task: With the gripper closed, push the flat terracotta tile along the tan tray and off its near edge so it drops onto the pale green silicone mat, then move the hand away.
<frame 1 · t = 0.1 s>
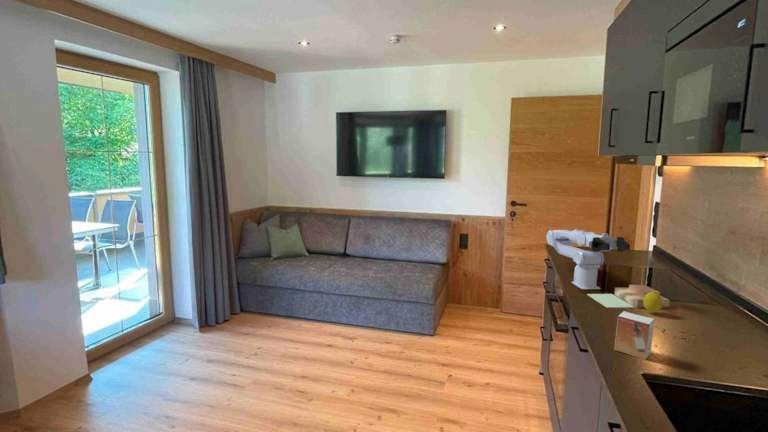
hand: (618, 247, 151), 22 cm above the worktop, tool horizontal, fingers open, 7 cm apart
small box: (632, 352, 116), on the worktop
tan tray: (640, 301, 157), on the worktop
tile: (643, 293, 156), point 3 cm above the worktop, touching tan tray
lemon: (651, 313, 145), on the worktop
mat: (609, 301, 156), on the worktop
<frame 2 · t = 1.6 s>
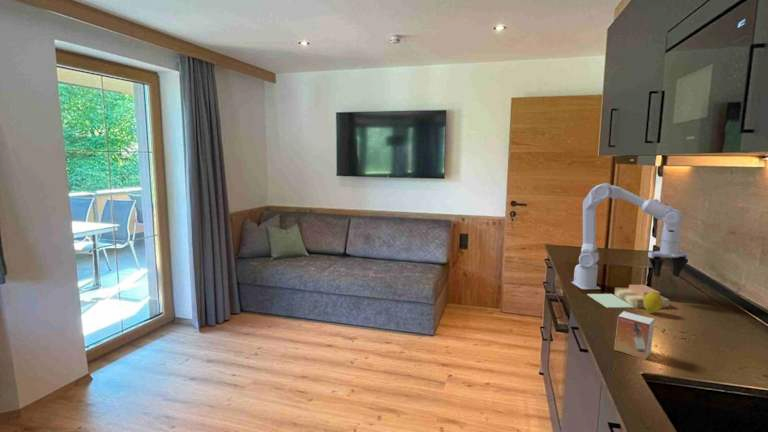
hand: (666, 276, 155), 10 cm above the worktop, tool pointing down, fingers open, 7 cm apart
nothing on the worktop moved.
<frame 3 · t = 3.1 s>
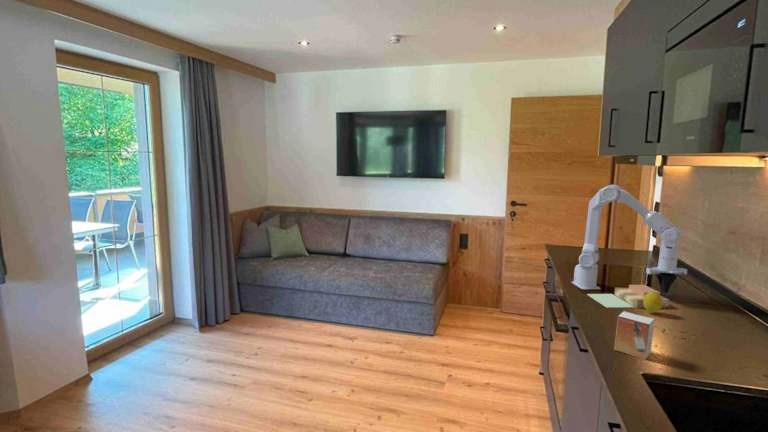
hand: (664, 291, 156), 4 cm above the worktop, tool pointing down, fingers closed
nothing on the worktop moved.
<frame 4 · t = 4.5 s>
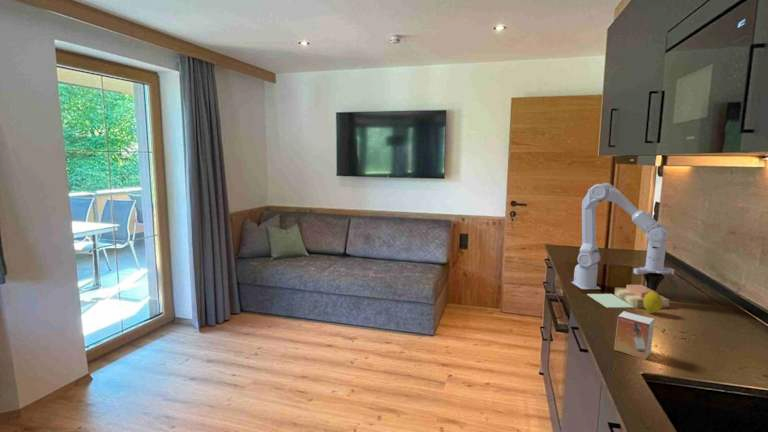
hand: (651, 292, 156), 4 cm above the worktop, tool pointing down, fingers closed
tile: (640, 293, 156), point 3 cm above the worktop, touching tan tray, gripper
everything else where it was.
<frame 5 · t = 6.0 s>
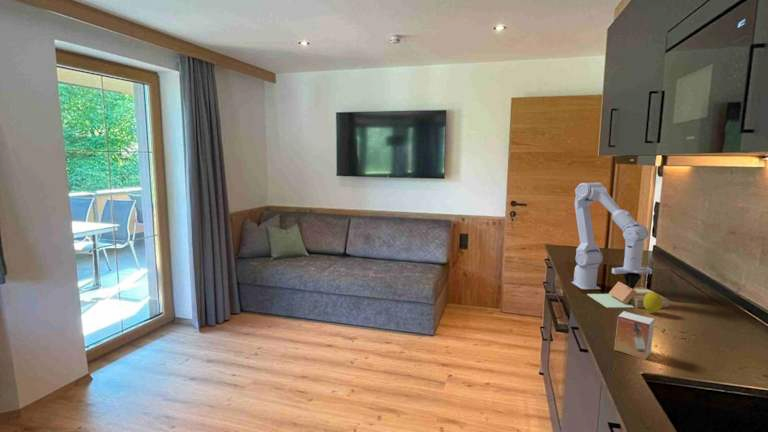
hand: (629, 291, 156), 4 cm above the worktop, tool pointing down, fingers closed, pressing on tile
tile: (624, 294, 156), point 3 cm above the worktop, tilted 54°, touching gripper, mat
everything else where it was.
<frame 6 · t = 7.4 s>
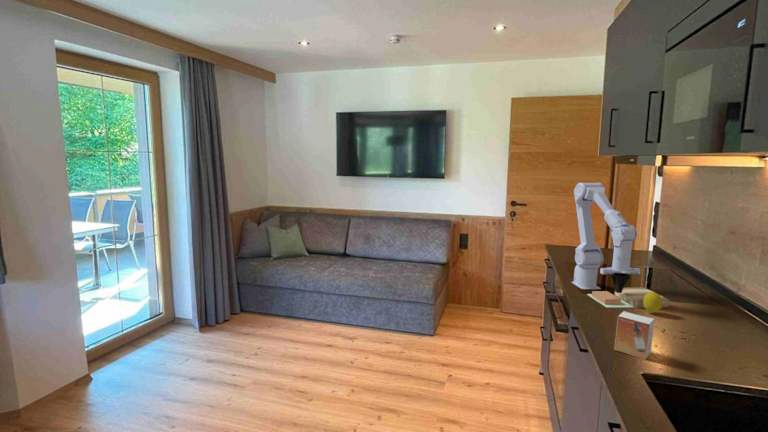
hand: (618, 292, 156), 4 cm above the worktop, tool pointing down, fingers closed
tile: (606, 295, 156), point 2 cm above the worktop, tilted 180°, touching mat
everything else where it was.
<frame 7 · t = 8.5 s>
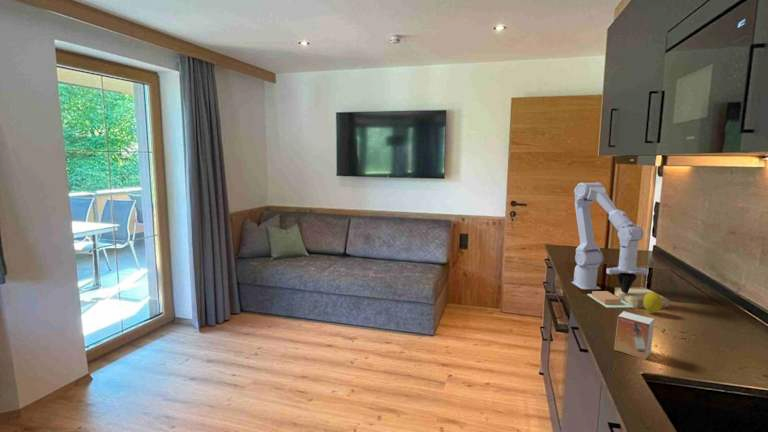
hand: (624, 292, 156), 4 cm above the worktop, tool pointing down, fingers closed
nothing on the worktop moved.
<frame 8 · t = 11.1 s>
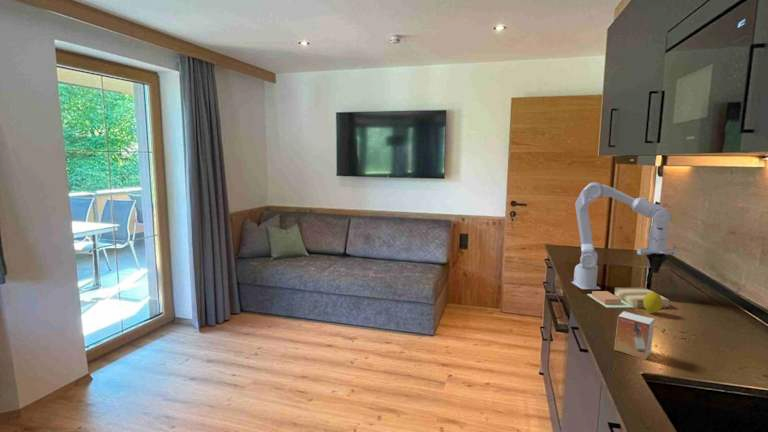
hand: (654, 272, 160), 10 cm above the worktop, tool pointing down, fingers closed
nothing on the worktop moved.
at the end: tile inside the target area on the mat (1.5 cm from its centre), point 2.4 cm above the mat's base; tile point 2.4 cm above the worktop; tile touching mat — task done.
